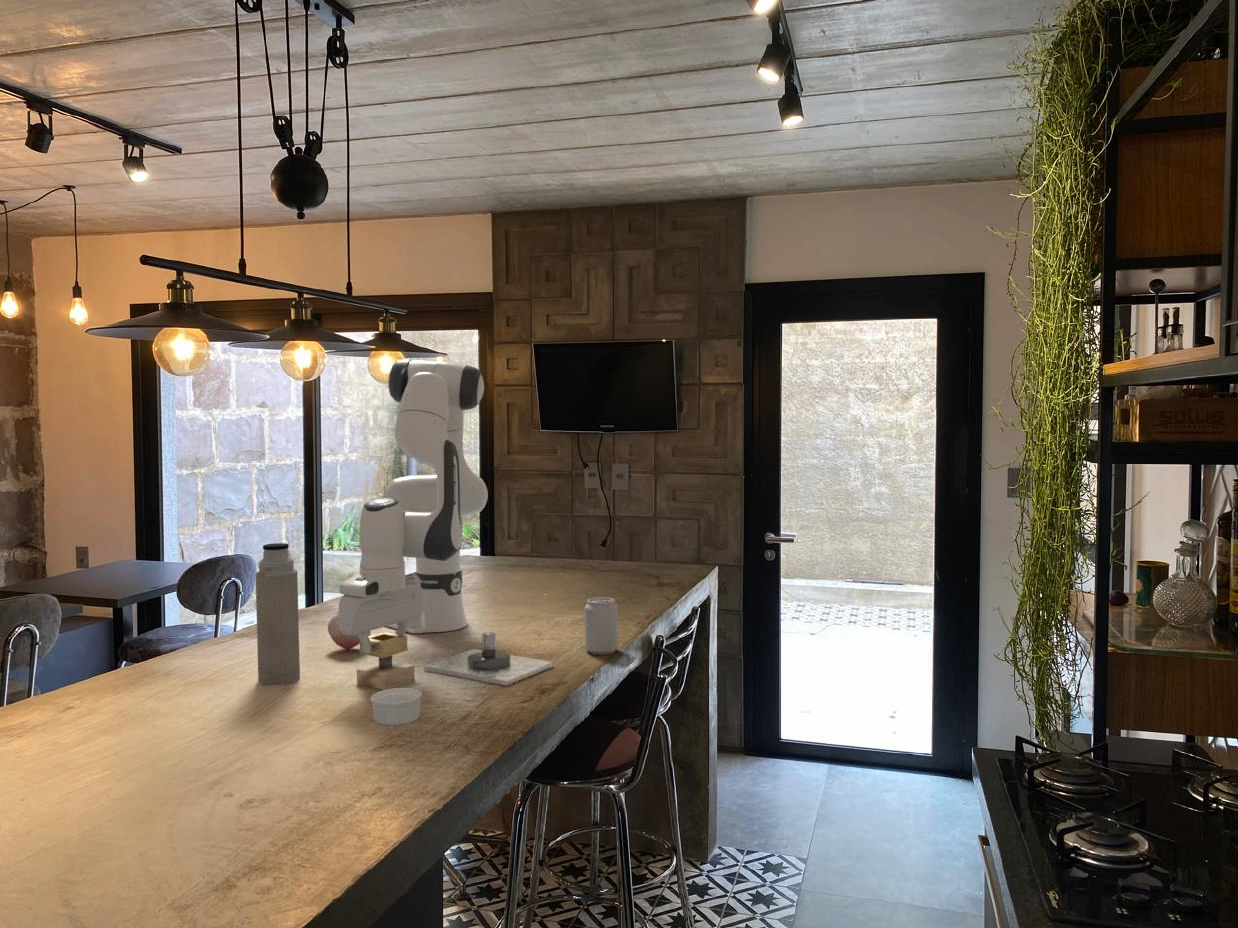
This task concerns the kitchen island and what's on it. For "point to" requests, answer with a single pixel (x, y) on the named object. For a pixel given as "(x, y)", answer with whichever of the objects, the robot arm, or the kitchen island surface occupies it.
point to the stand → (385, 674)
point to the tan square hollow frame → (386, 644)
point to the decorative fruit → (341, 635)
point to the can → (601, 626)
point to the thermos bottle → (277, 617)
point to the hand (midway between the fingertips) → (383, 647)
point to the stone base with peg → (489, 664)
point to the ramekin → (396, 706)
